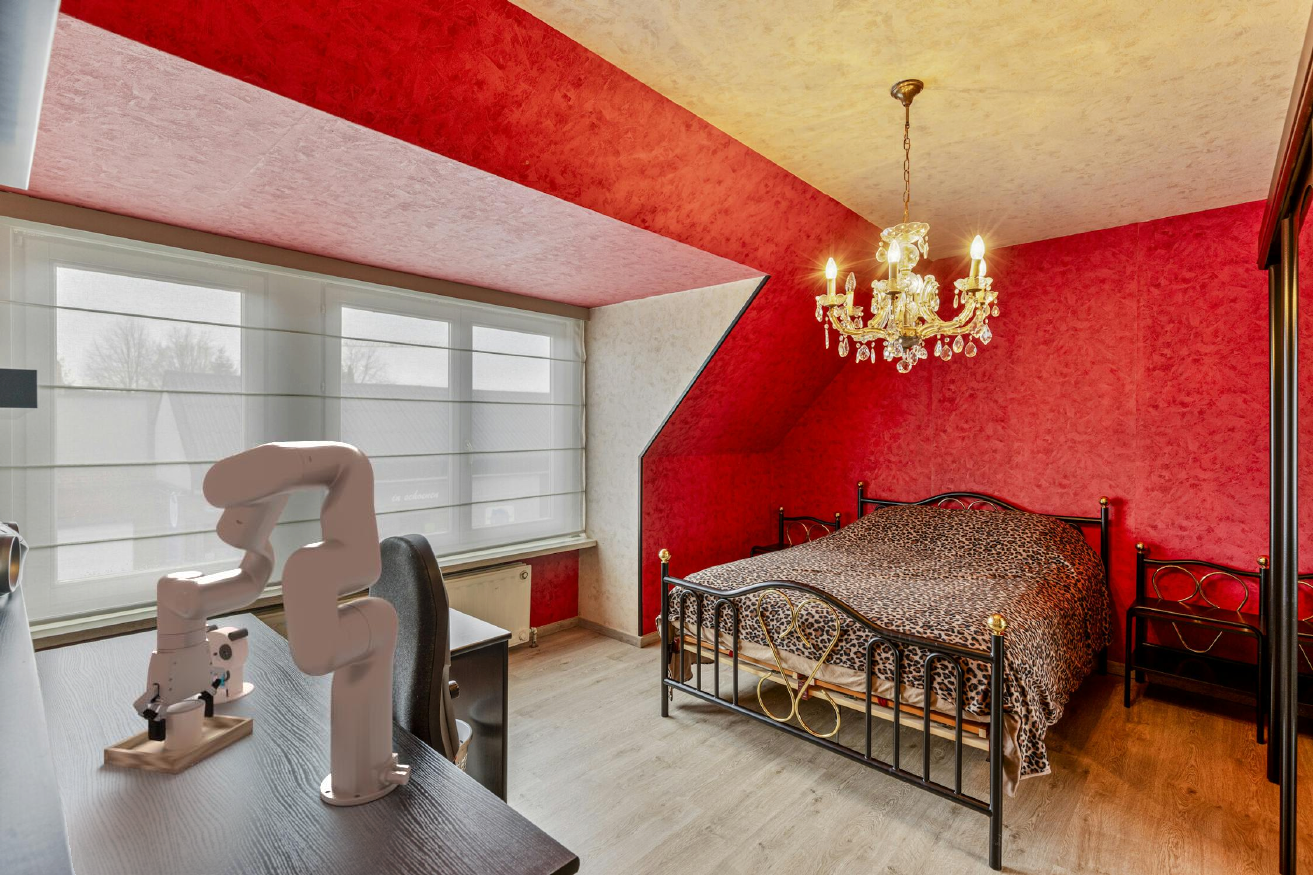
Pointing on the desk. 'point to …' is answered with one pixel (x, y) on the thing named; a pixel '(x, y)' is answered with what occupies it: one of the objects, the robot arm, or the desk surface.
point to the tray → (157, 758)
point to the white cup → (184, 724)
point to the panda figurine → (229, 661)
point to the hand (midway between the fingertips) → (182, 727)
